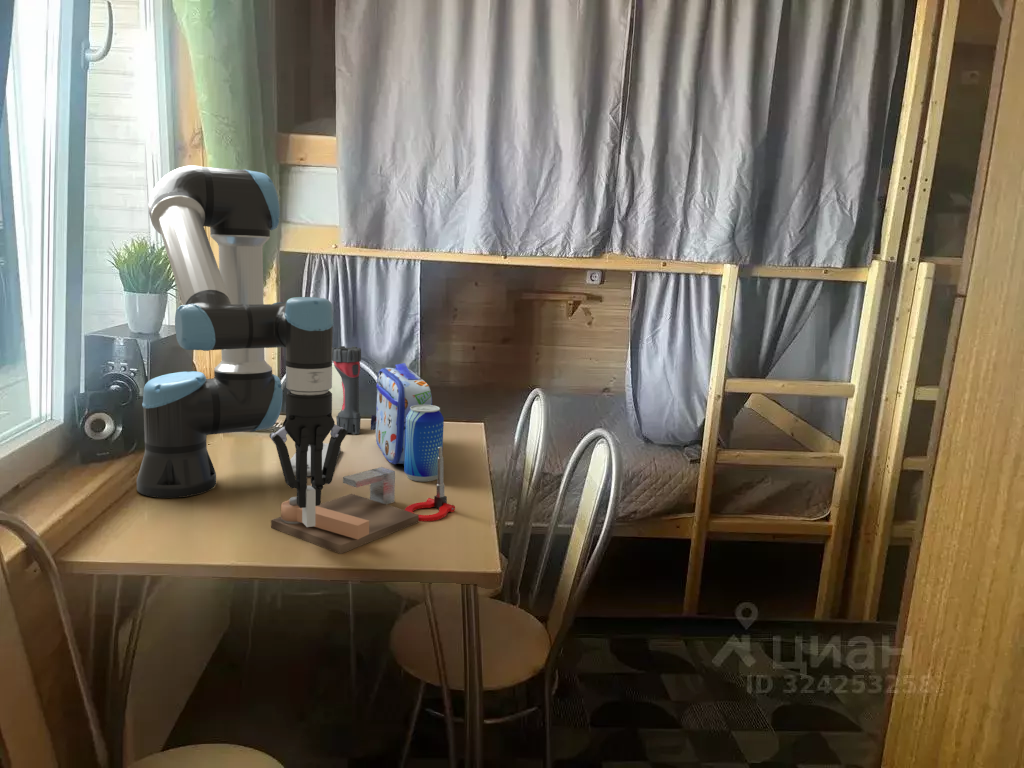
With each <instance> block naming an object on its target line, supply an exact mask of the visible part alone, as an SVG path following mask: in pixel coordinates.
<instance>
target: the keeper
mask: <svg viewBox="0 0 1024 768" xmlns="http://www.w3.org/2000/svg"><path fill="white" fill-rule="evenodd" d="M342 484H345V485H348V486H351V487H353V488H359V487H364V486H367V485H369V487H370V488H369V491H370V493H369V499H370V500H374V501H377V502H380V503H383V504H386V505H389V504H392V503H395V497H396V496H395V494H396V493H395V489H396V488H395V487H396V486H395V485H396V471H395V470H392V469H390V468H386V467H383V466H381V467H380V466H379V467H377V468H372V469H368V470H364V471H361V472H357V473H352V474H350V475H345V476H343V477H342Z"/></svg>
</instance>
